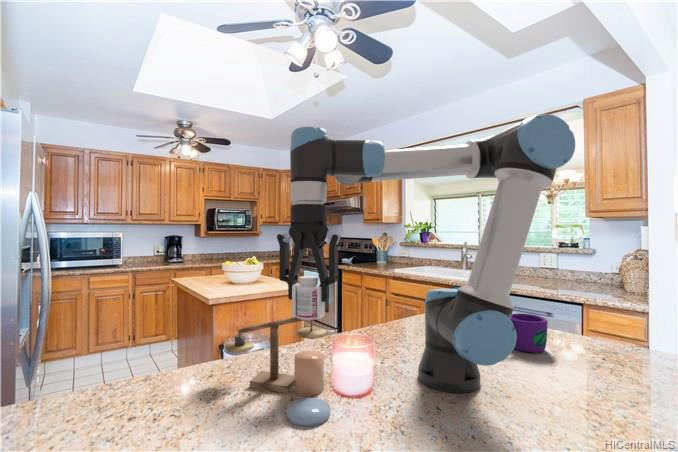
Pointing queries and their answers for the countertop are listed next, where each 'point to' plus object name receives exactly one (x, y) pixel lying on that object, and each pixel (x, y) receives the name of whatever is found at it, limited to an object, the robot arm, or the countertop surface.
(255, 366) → the countertop surface
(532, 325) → the mug
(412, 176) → the robot arm
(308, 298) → the pill bottle
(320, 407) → the grey smooth pebble
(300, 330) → the balance
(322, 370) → the tan upright cylinder
